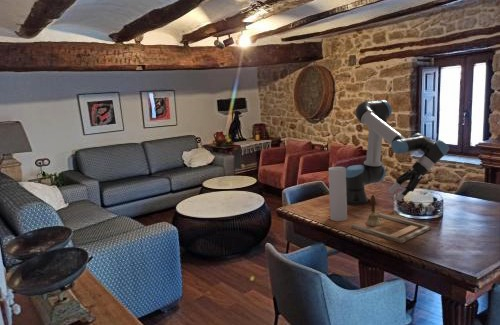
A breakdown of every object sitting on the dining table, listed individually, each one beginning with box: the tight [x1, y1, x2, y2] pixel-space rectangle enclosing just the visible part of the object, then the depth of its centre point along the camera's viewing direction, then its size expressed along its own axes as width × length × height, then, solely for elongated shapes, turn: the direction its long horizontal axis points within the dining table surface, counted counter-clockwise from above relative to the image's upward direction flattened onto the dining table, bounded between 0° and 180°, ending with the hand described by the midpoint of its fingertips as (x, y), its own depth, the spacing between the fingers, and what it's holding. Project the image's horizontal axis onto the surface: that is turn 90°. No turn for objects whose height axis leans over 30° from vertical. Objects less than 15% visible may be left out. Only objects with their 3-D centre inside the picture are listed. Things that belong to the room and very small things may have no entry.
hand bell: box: [365, 194, 382, 227], centre depth 198 cm, size 8×8×16 cm
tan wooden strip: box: [390, 225, 419, 238], centre depth 184 cm, size 21×4×1 cm, turn 124°
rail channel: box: [350, 212, 431, 244], centre depth 191 cm, size 24×30×2 cm
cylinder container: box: [328, 166, 348, 222], centre depth 208 cm, size 9×9×30 cm
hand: (393, 195), depth 195 cm, fingers open, 13 cm apart
